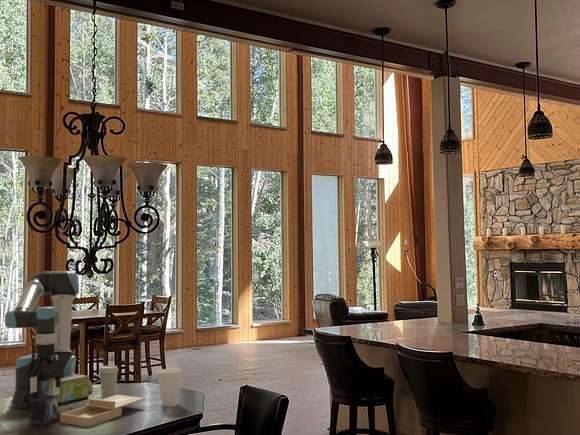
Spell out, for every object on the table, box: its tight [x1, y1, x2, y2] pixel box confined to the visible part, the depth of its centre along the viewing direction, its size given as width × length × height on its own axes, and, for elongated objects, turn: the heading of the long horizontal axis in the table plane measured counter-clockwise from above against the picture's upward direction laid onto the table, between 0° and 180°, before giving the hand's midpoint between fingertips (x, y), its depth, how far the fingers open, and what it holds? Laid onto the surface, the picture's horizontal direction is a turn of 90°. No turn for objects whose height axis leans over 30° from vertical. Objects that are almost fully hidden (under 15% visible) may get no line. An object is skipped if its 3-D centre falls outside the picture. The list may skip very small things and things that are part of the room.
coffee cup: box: [98, 364, 120, 399], centre depth 309 cm, size 10×10×15 cm
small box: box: [30, 394, 59, 427], centre depth 263 cm, size 11×6×10 cm, turn 168°
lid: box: [86, 394, 146, 409], centre depth 282 cm, size 17×20×3 cm
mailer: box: [59, 406, 123, 427], centre depth 268 cm, size 16×20×4 cm
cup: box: [156, 368, 183, 408], centre depth 292 cm, size 12×12×16 cm
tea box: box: [48, 373, 90, 414], centre depth 285 cm, size 15×10×15 cm
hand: (44, 393), depth 263 cm, fingers open, 13 cm apart
